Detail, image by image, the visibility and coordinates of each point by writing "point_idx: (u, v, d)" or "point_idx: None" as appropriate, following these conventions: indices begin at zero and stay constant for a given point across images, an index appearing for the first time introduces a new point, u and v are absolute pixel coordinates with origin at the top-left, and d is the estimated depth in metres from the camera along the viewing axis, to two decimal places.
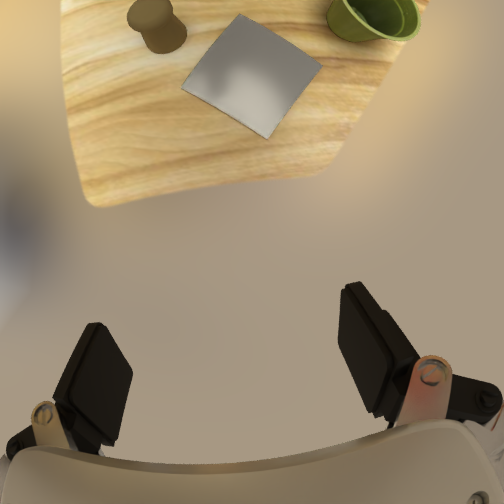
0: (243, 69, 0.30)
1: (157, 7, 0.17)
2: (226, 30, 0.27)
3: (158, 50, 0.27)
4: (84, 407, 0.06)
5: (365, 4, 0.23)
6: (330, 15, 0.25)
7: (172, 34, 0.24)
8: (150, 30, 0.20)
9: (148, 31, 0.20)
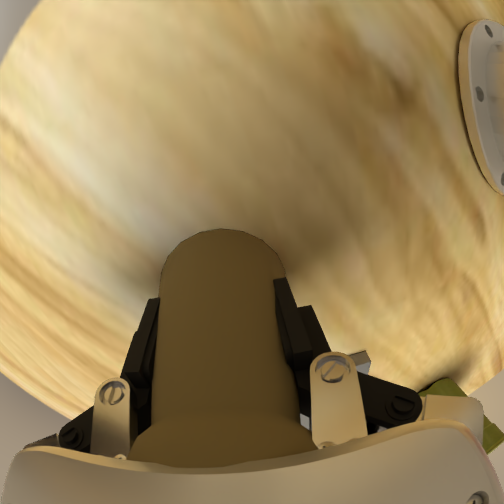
0: None
1: None
2: None
3: None
4: None
5: None
6: None
7: None
8: None
9: None
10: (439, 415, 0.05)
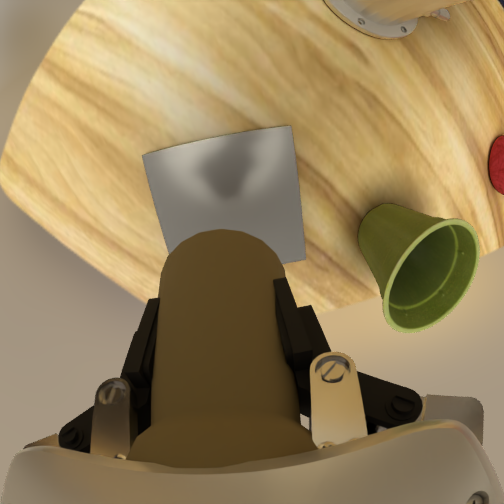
0: (221, 196, 0.25)
1: None
2: (254, 132, 0.23)
3: None
4: None
5: None
6: (375, 220, 0.25)
7: None
8: None
9: None
10: (439, 415, 0.05)
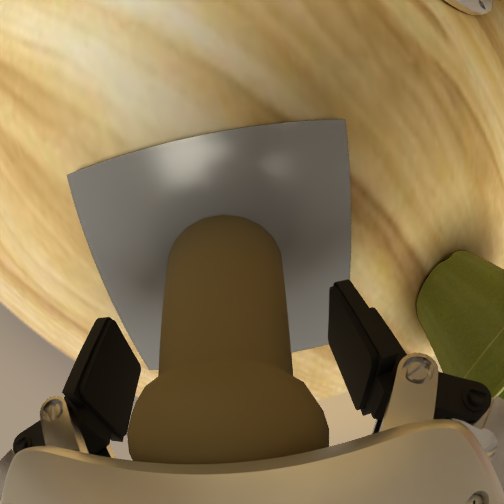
0: None
1: None
2: (274, 128, 0.11)
3: None
4: (94, 401, 0.06)
5: None
6: (453, 284, 0.14)
7: None
8: None
9: None
10: (500, 418, 0.03)
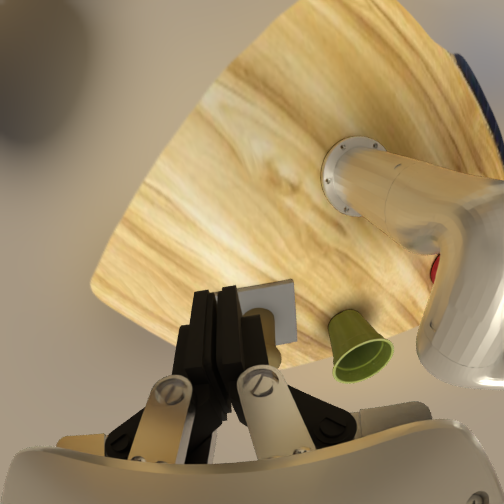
0: None
1: None
2: (272, 287, 0.44)
3: None
4: (215, 375, 0.07)
5: None
6: (337, 324, 0.47)
7: None
8: None
9: None
10: (380, 429, 0.05)
